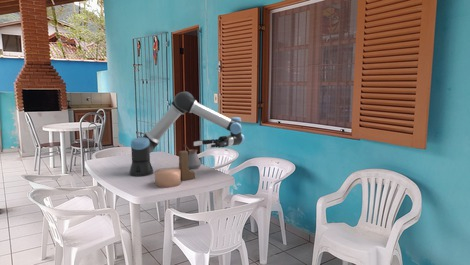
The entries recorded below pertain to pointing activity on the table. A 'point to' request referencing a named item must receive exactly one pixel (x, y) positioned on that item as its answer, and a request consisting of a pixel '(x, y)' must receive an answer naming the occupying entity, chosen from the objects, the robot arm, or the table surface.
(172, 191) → the table surface
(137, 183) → the table surface
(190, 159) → the coffee pot
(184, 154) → the wooden block
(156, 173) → the peach disc
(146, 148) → the robot arm
